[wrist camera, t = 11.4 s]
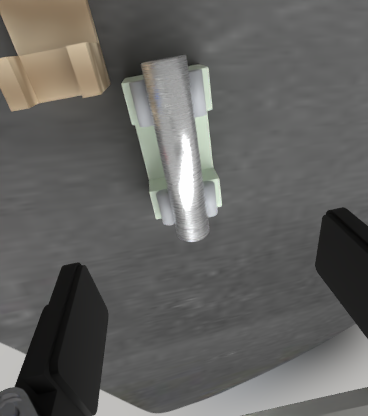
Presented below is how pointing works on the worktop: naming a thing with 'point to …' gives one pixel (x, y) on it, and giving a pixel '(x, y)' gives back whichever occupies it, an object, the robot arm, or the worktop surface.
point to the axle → (178, 143)
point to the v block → (149, 146)
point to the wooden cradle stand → (50, 52)
